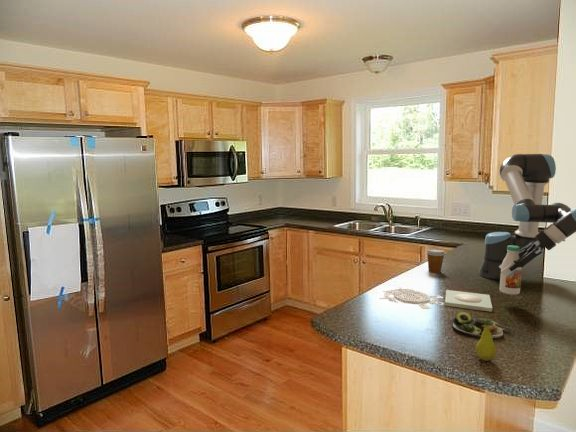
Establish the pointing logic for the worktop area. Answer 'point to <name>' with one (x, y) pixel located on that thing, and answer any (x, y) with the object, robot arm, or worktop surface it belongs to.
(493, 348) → the fruit
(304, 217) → the worktop surface
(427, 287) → the worktop surface
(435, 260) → the disposable coffee cup
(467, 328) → the salad plate
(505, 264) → the milk bottle
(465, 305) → the locating board
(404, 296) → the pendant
